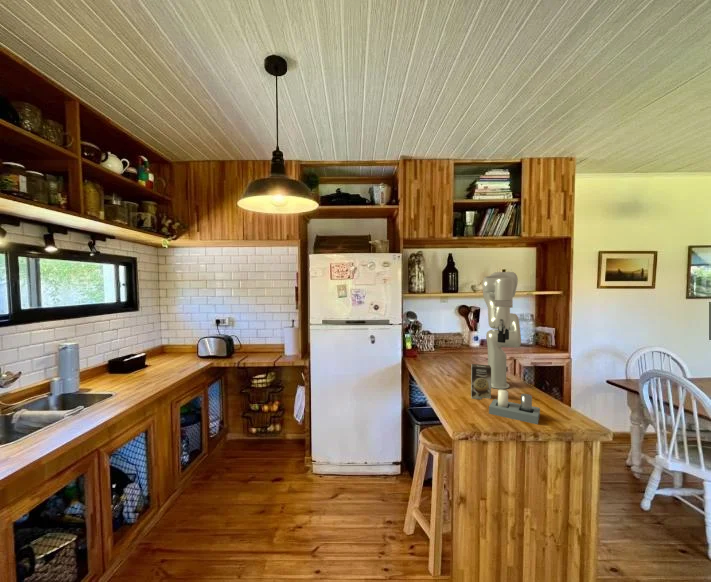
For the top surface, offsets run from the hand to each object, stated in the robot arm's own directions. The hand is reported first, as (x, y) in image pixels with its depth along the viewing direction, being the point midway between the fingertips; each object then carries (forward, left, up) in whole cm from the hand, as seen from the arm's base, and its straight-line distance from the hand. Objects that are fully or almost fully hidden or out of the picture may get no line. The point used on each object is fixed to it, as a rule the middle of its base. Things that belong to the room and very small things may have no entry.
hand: (503, 340), depth 141 cm
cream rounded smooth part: (+10, +2, -29) cm, 31 cm away
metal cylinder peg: (+10, +11, -29) cm, 33 cm away
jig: (+10, +6, -30) cm, 33 cm away
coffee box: (-5, -11, -31) cm, 33 cm away
